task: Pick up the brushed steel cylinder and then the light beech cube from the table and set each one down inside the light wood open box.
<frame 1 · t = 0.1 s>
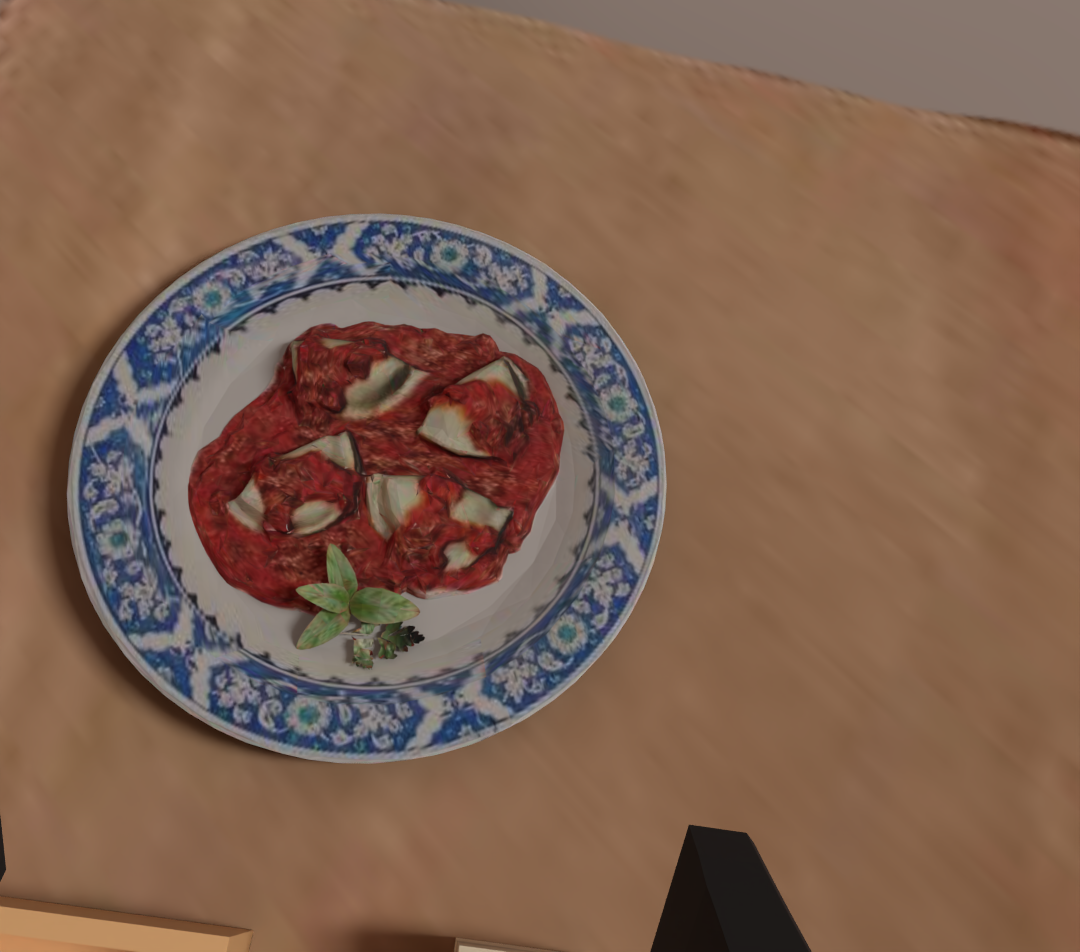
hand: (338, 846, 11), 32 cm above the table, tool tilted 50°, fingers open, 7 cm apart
ceramic plate: (379, 478, 47), on the table
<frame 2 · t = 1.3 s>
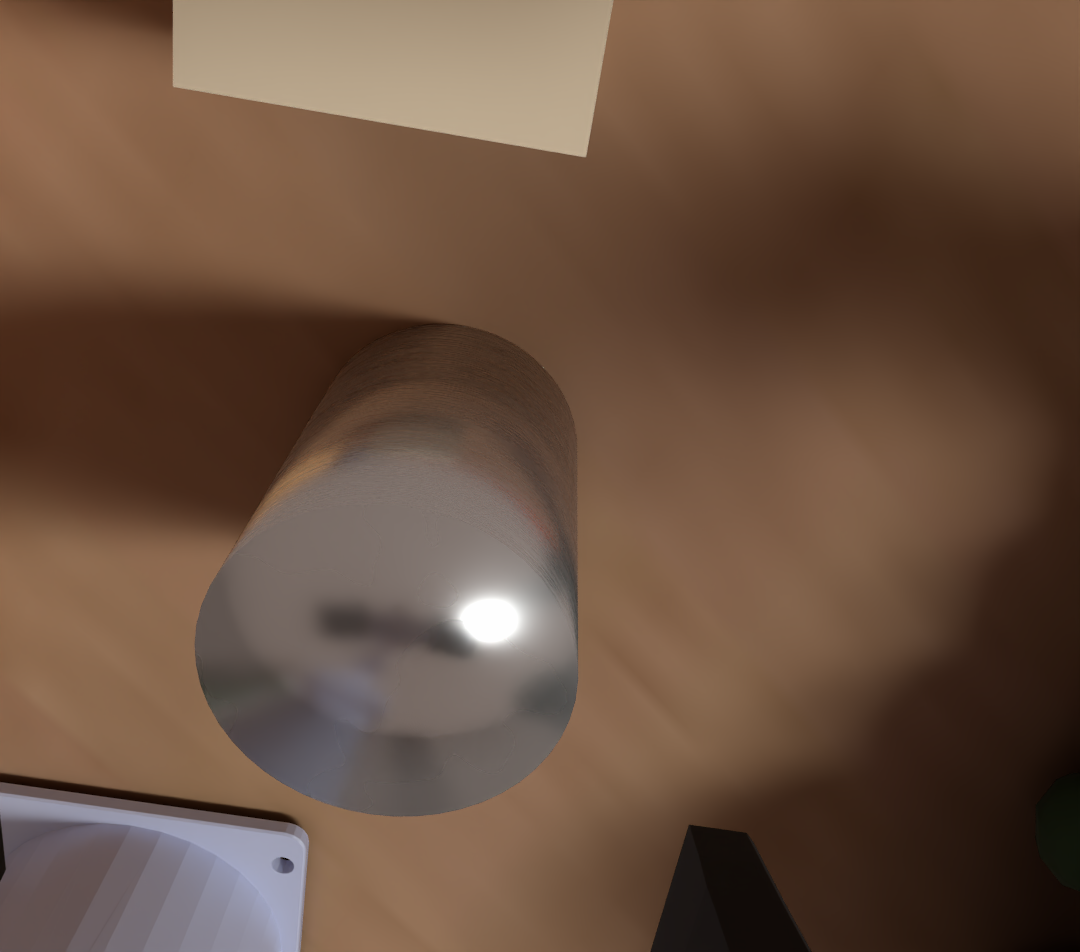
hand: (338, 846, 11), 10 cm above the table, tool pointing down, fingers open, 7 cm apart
steel cylinder: (447, 449, 20), on the table
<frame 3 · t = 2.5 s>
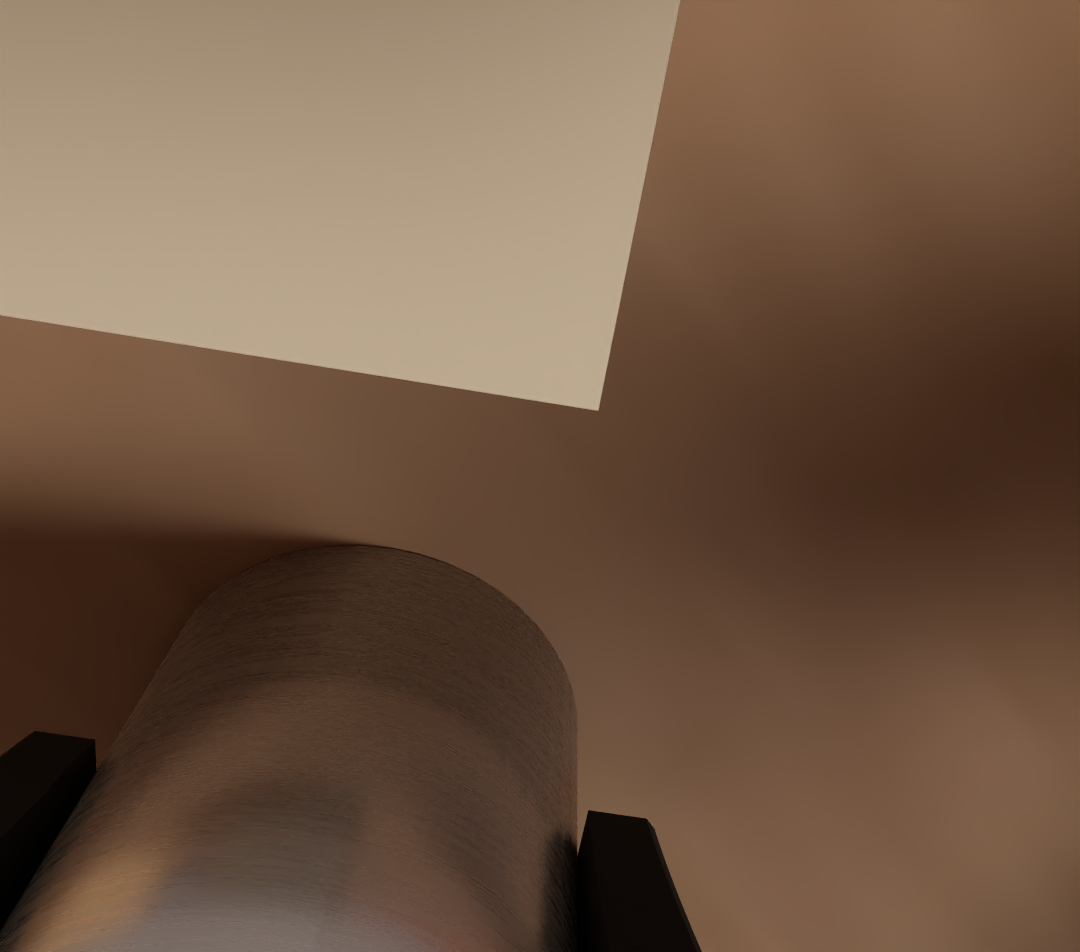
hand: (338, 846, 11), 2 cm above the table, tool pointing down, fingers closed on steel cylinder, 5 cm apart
steel cylinder: (371, 723, 12), on the table, touching gripper
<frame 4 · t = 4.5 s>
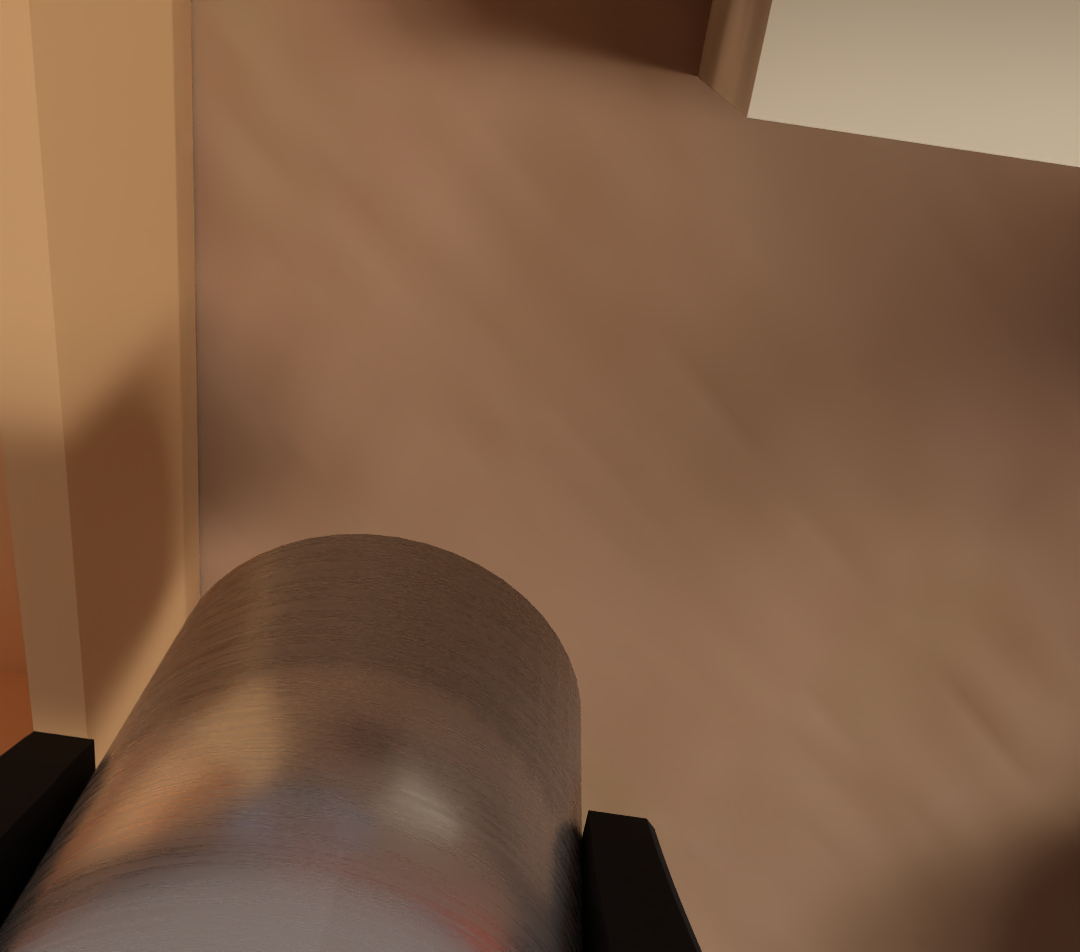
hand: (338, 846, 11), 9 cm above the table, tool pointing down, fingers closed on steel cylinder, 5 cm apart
steel cylinder: (375, 712, 12), point 7 cm above the table, touching gripper
when the fingers open (4 cm above the table, at t = 6.6 s): steel cylinder drops 1 cm, resting on light wood open box.
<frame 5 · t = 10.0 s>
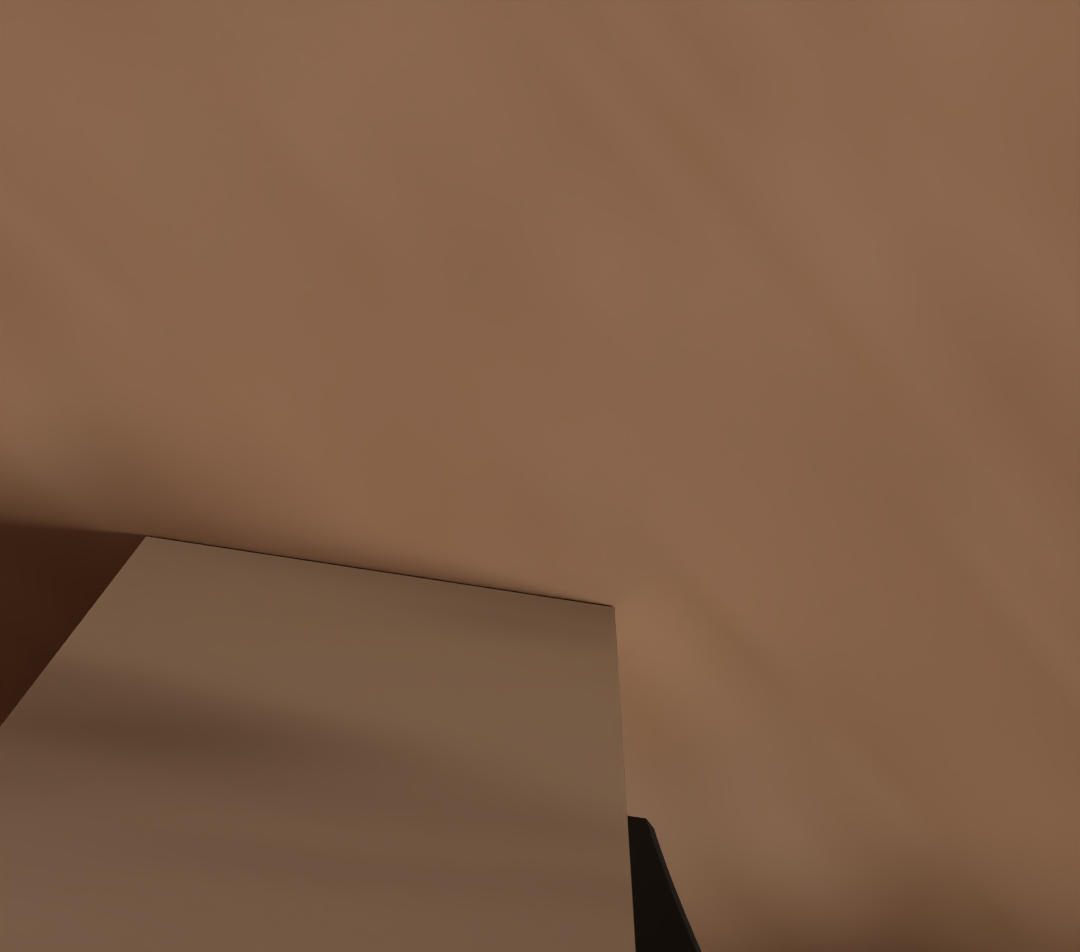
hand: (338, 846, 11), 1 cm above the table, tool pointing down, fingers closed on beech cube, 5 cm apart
beech cube: (363, 752, 12), on the table, touching gripper
when the fingers open (4 cm above the table, at t = 13.8 s): beech cube drops 1 cm, resting on light wood open box.
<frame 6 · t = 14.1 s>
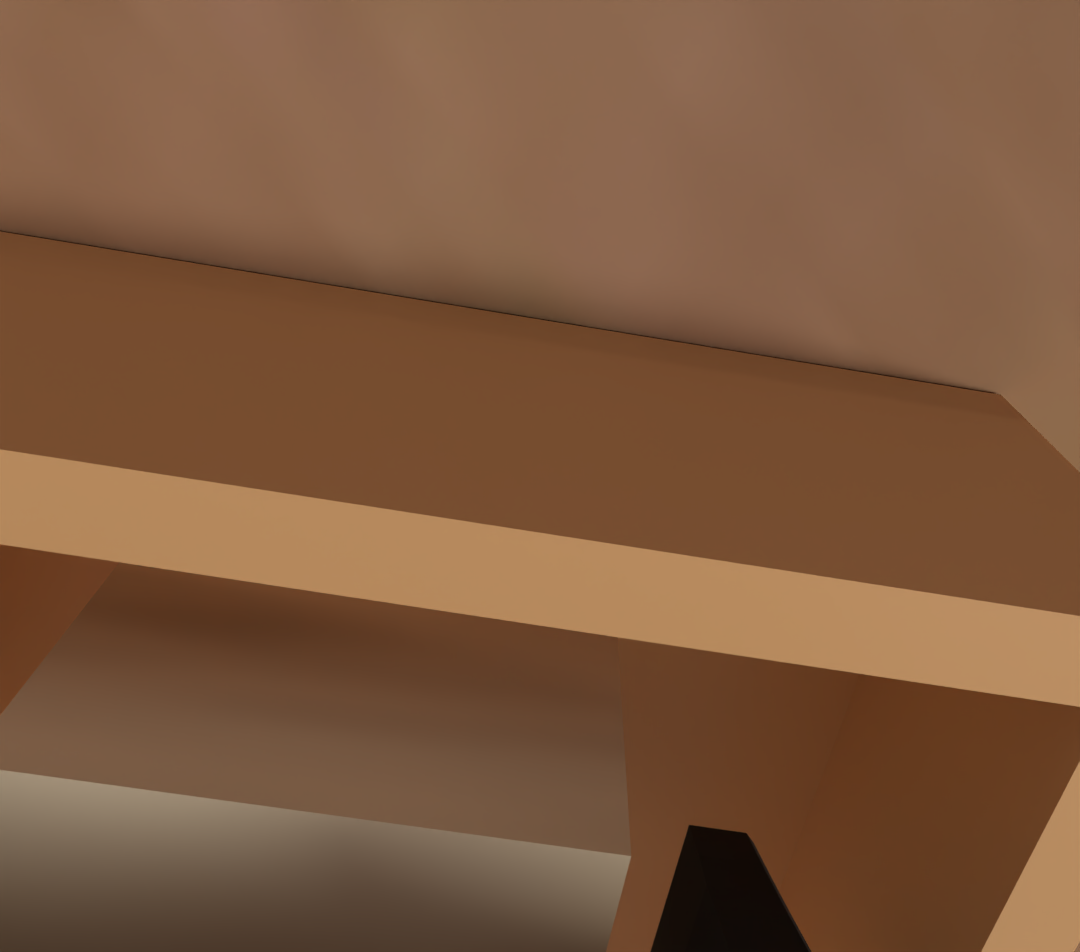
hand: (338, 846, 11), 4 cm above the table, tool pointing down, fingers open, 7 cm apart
beech cube: (385, 668, 13), point 1 cm above the table, touching light wood open box
light wood open box: (370, 848, 16), on the table
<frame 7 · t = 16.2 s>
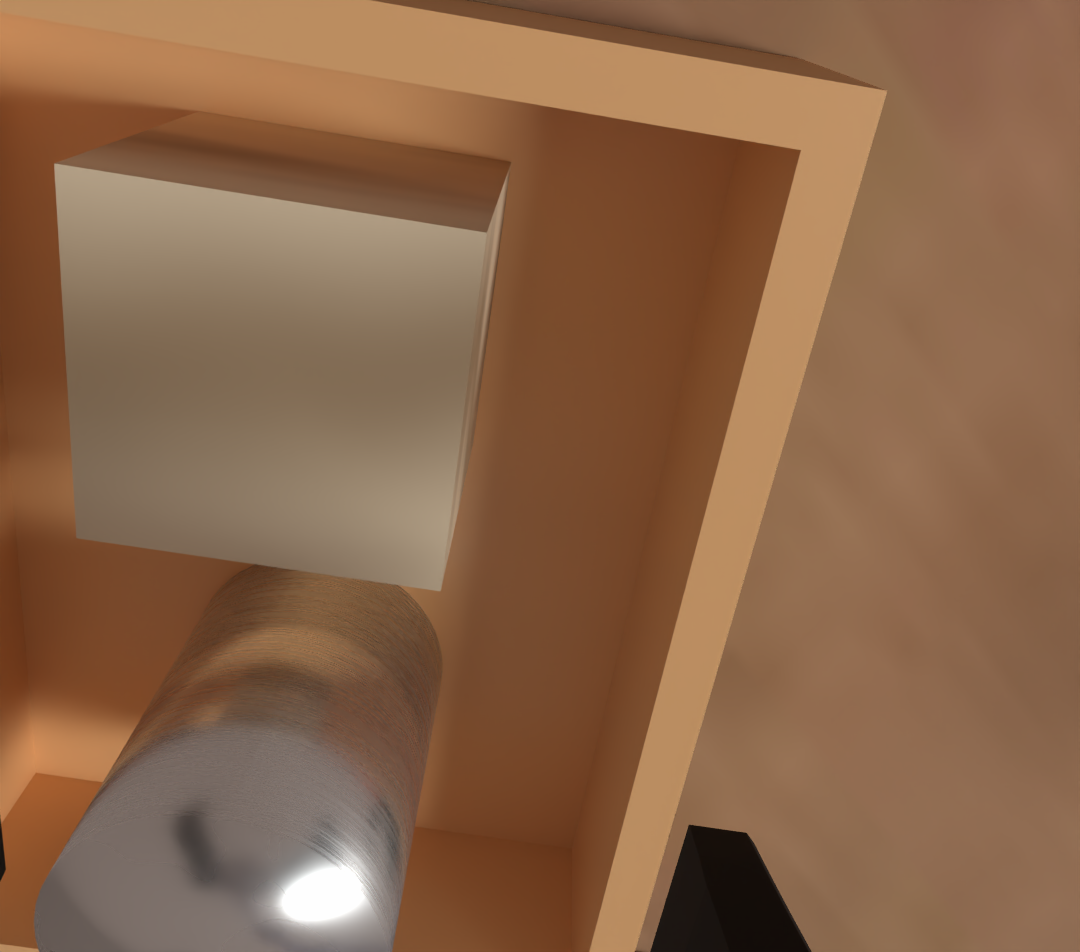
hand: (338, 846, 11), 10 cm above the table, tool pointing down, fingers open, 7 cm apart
beech cube: (345, 288, 17), point 1 cm above the table, touching light wood open box
light wood open box: (339, 478, 20), on the table
steel cylinder: (320, 660, 21), point 1 cm above the table, touching light wood open box
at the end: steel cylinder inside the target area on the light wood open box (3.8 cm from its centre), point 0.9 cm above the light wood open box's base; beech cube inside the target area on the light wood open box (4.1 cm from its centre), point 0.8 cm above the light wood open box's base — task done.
